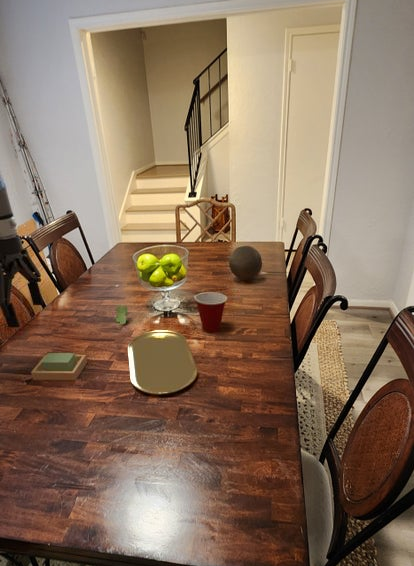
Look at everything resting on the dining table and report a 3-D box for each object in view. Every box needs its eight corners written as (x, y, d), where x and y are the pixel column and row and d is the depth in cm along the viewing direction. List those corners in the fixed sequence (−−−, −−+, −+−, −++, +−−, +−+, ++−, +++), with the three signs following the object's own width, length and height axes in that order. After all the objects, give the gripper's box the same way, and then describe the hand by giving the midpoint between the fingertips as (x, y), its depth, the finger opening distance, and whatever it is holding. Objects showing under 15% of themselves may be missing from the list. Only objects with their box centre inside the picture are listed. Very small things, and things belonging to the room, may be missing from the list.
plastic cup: (234, 329, 126) (234, 297, 120) (208, 339, 121) (206, 306, 115) (215, 318, 134) (214, 287, 128) (190, 327, 129) (188, 295, 123)
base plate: (33, 380, 106) (30, 372, 104) (48, 361, 114) (45, 354, 113) (75, 380, 105) (73, 372, 103) (87, 361, 113) (85, 354, 111)
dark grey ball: (234, 273, 173) (234, 241, 165) (264, 276, 169) (265, 243, 161) (225, 284, 162) (224, 250, 154) (257, 287, 158) (258, 252, 150)
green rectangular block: (44, 373, 107) (40, 362, 105) (52, 364, 111) (48, 353, 109) (71, 374, 106) (67, 362, 104) (77, 364, 111) (74, 353, 109)
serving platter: (182, 330, 127) (181, 326, 126) (204, 390, 98) (204, 386, 97) (127, 338, 124) (126, 334, 123) (132, 403, 95) (132, 398, 94)
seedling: (130, 331, 139) (116, 328, 133) (125, 313, 141) (111, 309, 136) (143, 321, 135) (129, 318, 130) (137, 303, 138) (124, 299, 133)
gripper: (-13, 251, 79) (16, 337, 90) (40, 224, 100) (59, 296, 111) (-46, 251, 80) (-13, 337, 91) (14, 224, 101) (35, 296, 112)
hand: (27, 315), depth 101 cm, fingers open, 13 cm apart
